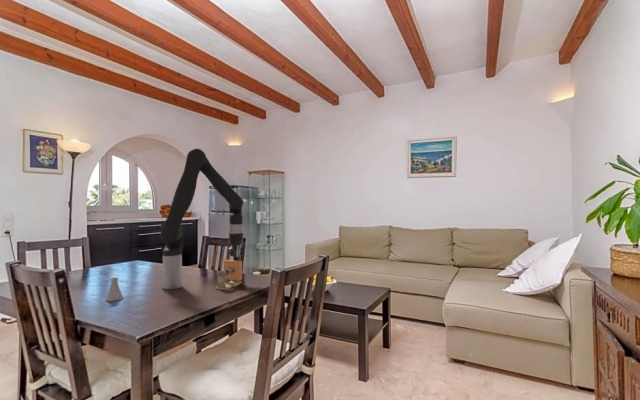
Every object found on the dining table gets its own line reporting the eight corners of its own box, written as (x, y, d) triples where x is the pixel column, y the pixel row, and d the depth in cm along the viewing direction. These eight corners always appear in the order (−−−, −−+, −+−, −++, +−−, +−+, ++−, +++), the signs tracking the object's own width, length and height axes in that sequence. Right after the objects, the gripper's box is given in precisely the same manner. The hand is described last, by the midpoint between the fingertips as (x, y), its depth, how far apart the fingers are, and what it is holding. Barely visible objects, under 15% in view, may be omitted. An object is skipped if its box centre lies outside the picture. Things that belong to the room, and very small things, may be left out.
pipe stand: (225, 290, 169) (225, 271, 169) (215, 289, 171) (215, 271, 171) (241, 283, 183) (241, 266, 183) (232, 282, 185) (232, 265, 185)
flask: (104, 302, 149) (104, 280, 149) (106, 298, 155) (106, 277, 155) (122, 300, 152) (122, 278, 152) (124, 296, 159) (123, 275, 159)
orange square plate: (223, 278, 181) (223, 260, 181) (226, 277, 183) (226, 259, 183) (239, 280, 177) (239, 261, 177) (242, 279, 179) (241, 260, 179)
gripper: (237, 231, 191) (237, 261, 191) (223, 233, 178) (223, 265, 178) (248, 231, 188) (248, 261, 188) (234, 233, 176) (234, 266, 176)
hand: (236, 263), depth 183 cm, fingers closed
